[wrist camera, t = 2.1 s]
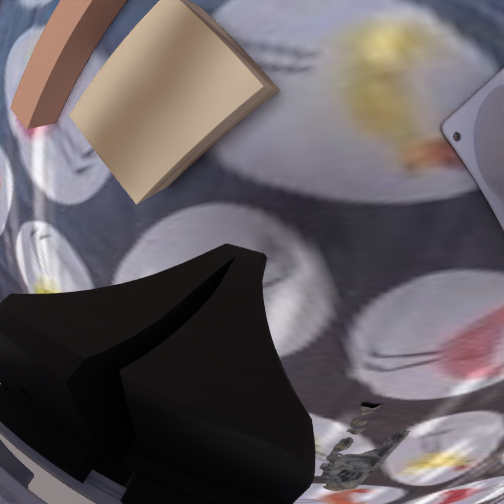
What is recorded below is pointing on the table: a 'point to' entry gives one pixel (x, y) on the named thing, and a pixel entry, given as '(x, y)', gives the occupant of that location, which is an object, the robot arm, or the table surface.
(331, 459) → the driftwood
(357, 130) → the table surface
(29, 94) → the terracotta batten
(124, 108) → the beech block
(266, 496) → the robot arm
